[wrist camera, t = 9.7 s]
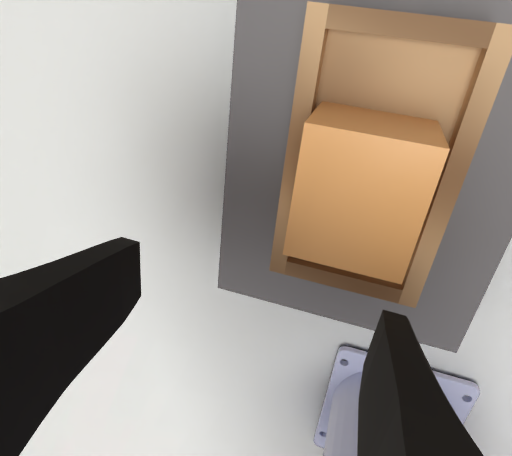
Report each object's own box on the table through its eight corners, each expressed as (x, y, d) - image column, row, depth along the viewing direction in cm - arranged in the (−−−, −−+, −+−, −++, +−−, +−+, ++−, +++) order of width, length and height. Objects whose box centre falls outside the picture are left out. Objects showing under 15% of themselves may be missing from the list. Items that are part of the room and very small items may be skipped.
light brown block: (400, 235, 14) (401, 284, 11) (301, 212, 15) (282, 254, 12) (438, 120, 12) (450, 148, 10) (321, 101, 13) (304, 122, 10)
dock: (448, 313, 22) (456, 353, 19) (236, 258, 24) (217, 287, 21) (639, -125, 13) (701, -159, 10) (272, -139, 15) (248, -170, 13)
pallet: (411, 255, 17) (415, 308, 14) (290, 227, 19) (269, 270, 15) (491, 22, 13) (522, 26, 10) (326, 4, 14) (307, 0, 11)
